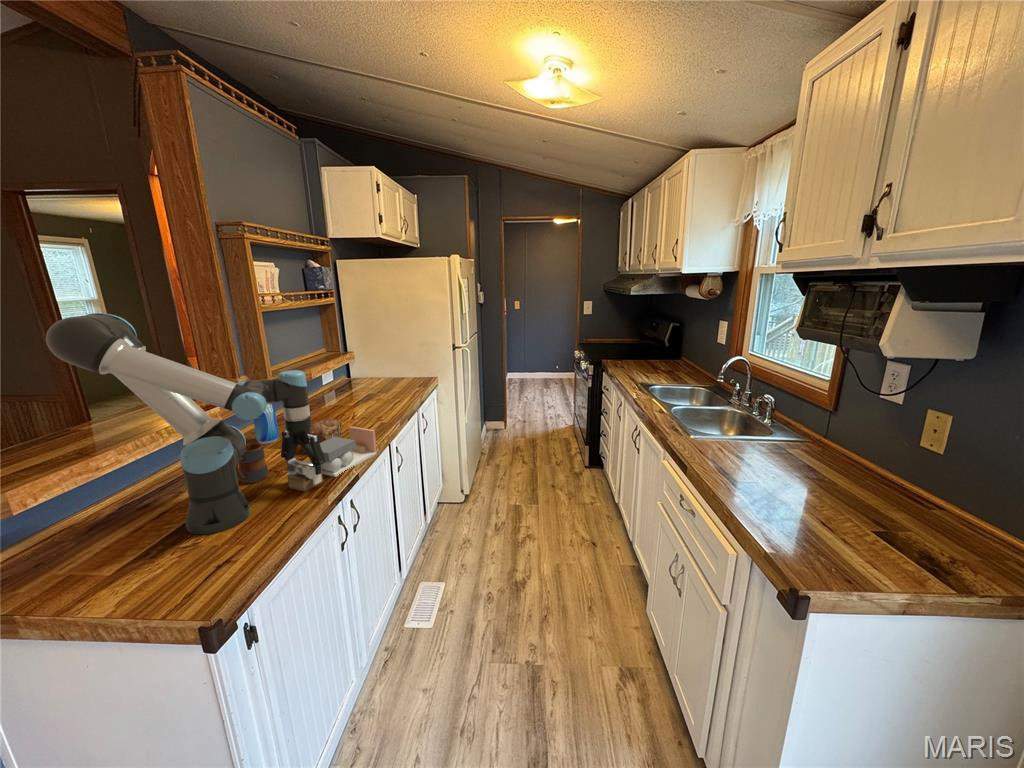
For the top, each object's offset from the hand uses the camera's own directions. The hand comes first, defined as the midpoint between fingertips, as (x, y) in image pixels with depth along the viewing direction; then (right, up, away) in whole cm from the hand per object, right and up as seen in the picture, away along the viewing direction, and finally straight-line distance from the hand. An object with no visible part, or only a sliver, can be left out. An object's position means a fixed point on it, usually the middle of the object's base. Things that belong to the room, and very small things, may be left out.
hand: (305, 479), depth 138 cm
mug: (-20, -1, +3) cm, 21 cm away
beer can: (-35, +8, +38) cm, 52 cm away
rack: (0, -2, 0) cm, 2 cm away
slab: (+4, +8, +11) cm, 14 cm away
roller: (0, +4, -1) cm, 4 cm away
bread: (-10, +7, +35) cm, 37 cm away
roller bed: (+6, +3, +18) cm, 19 cm away
